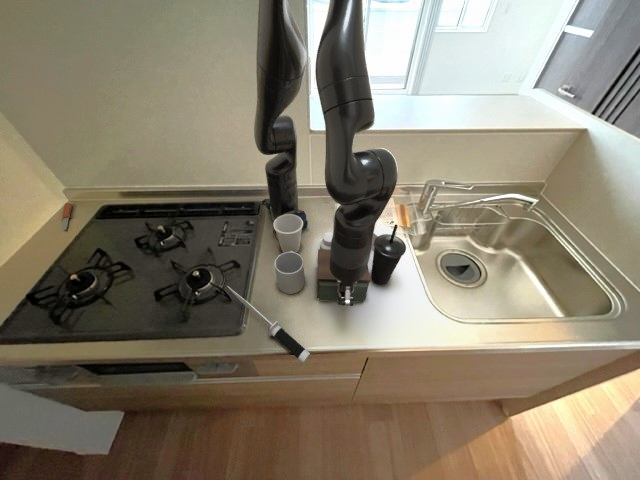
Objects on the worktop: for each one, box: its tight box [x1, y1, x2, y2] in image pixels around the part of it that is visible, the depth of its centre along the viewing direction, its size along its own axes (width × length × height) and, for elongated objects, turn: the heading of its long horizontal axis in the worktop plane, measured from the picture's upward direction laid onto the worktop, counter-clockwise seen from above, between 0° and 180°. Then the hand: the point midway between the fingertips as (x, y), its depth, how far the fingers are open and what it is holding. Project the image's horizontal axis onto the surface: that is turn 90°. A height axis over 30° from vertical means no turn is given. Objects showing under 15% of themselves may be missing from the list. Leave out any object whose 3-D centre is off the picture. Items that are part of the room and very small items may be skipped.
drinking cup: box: [370, 224, 407, 287], centre depth 65 cm, size 8×8×20 cm
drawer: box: [318, 281, 368, 303], centre depth 66 cm, size 10×11×7 cm
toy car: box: [272, 209, 308, 239], centre depth 82 cm, size 6×12×6 cm
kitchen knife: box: [62, 202, 73, 231], centre depth 86 cm, size 16×1×2 cm
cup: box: [274, 251, 305, 295], centre depth 68 cm, size 7×10×9 cm
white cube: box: [371, 221, 397, 251], centre depth 79 cm, size 6×6×6 cm
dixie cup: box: [272, 214, 303, 253], centre depth 76 cm, size 8×8×10 cm
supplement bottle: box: [319, 231, 333, 250], centre depth 73 cm, size 5×5×10 cm
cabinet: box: [316, 248, 371, 301], centre depth 67 cm, size 10×13×9 cm
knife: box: [226, 285, 311, 364], centre depth 59 cm, size 26×2×5 cm, turn 52°
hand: (342, 302), depth 61 cm, fingers closed
